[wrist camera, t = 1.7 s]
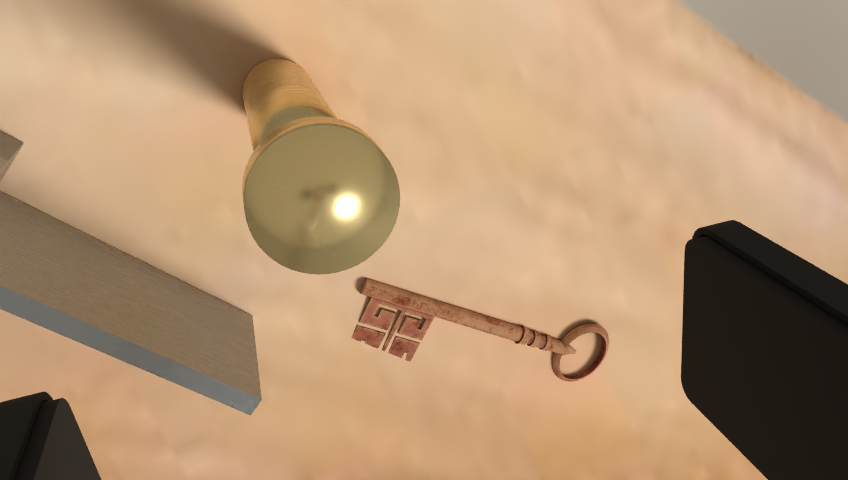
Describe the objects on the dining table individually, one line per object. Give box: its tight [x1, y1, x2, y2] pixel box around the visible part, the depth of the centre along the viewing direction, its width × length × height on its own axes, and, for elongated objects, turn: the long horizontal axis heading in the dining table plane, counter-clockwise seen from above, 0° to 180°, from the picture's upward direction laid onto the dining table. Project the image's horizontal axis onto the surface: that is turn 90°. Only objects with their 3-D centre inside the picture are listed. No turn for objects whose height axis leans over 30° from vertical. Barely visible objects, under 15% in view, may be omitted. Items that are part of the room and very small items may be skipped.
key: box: [352, 278, 609, 381], centre depth 39 cm, size 6×1×15 cm
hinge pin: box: [243, 58, 400, 274], centre depth 25 cm, size 4×4×14 cm
